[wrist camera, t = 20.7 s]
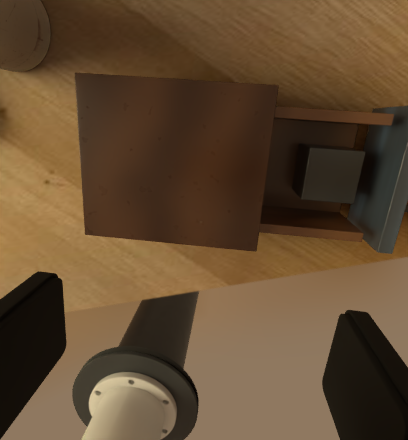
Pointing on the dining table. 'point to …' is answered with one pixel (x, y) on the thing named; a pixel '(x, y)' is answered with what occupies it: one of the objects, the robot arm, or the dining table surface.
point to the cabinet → (174, 158)
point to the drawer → (367, 186)
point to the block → (327, 173)
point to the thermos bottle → (23, 34)
